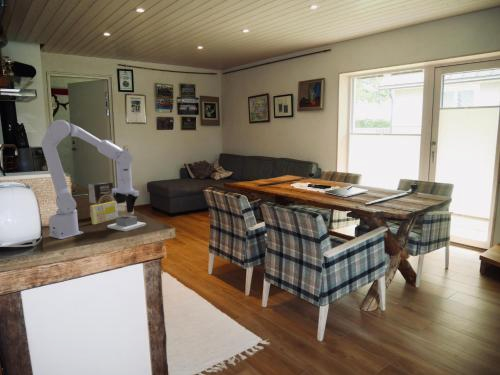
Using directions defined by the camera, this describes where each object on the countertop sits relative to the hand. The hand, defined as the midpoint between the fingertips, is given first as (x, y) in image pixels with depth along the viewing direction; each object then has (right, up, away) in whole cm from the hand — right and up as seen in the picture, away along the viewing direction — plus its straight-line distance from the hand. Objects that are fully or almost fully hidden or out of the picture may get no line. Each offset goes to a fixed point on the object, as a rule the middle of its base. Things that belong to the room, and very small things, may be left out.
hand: (126, 211), depth 150 cm
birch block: (0, -2, 0) cm, 2 cm away
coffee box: (-17, -4, +18) cm, 26 cm away
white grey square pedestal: (0, -7, +1) cm, 7 cm away
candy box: (-12, -5, +12) cm, 18 cm away
